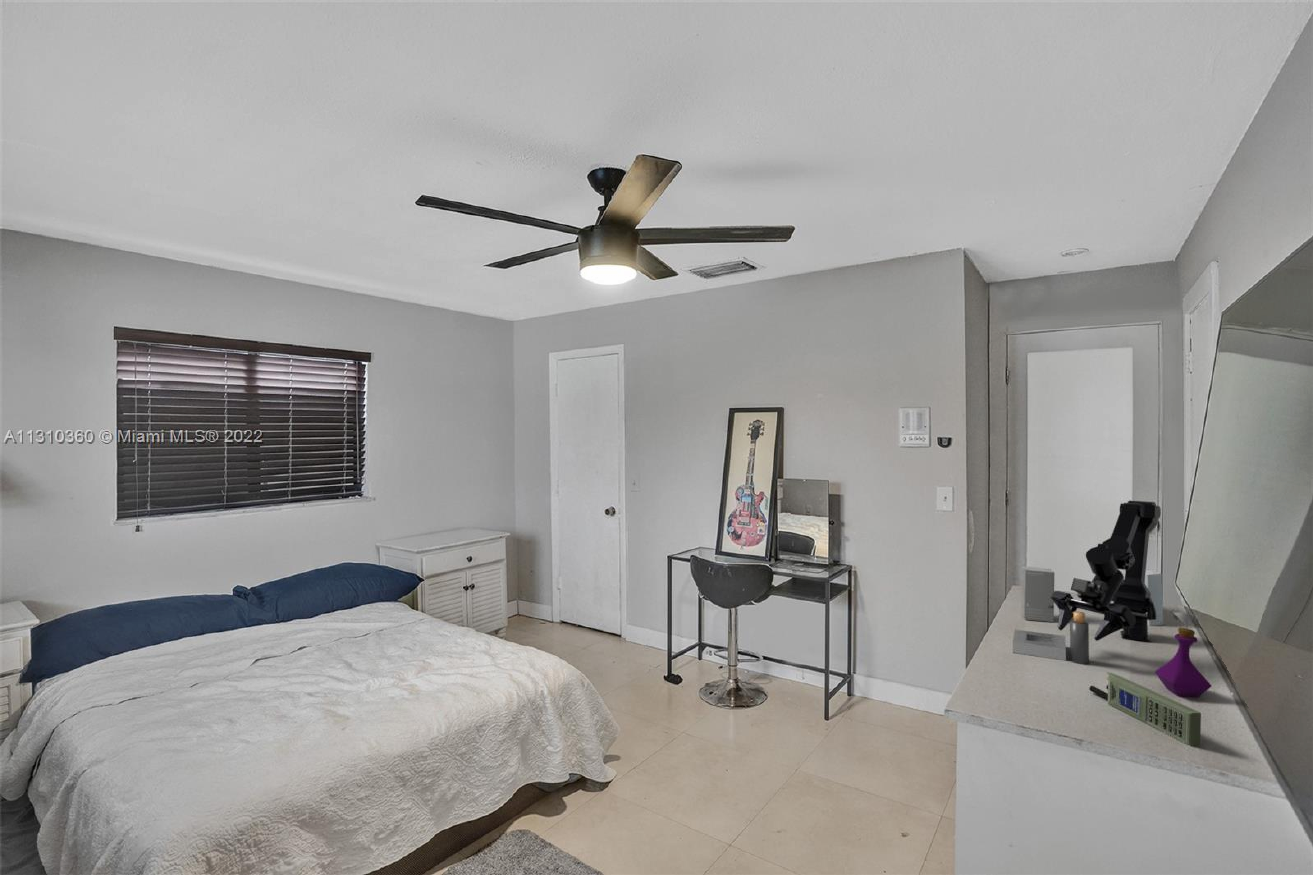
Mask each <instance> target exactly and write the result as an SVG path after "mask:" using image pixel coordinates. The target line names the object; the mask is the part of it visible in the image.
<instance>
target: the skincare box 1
mask: <svg viewBox="0 0 1313 875" xmlns="http://www.w3.org/2000/svg"><path fill="white" fill-rule="evenodd" d="M1021 570H1022V571H1021V576H1022V577H1021V615H1022V617H1023V618H1024V620H1025V621H1036V622H1049V623H1054V620H1055V603H1054V601H1053V600H1052V599H1051V596H1052V594H1053V592H1054V591H1055V571H1053V570H1052V569H1051V568H1044V567H1043V568H1042V567H1036V566H1035V567H1032V566H1021Z"/></svg>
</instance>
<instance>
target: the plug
mask: <svg viewBox="0 0 1313 875" xmlns="http://www.w3.org/2000/svg"><path fill="white" fill-rule="evenodd" d="M1085 614H1086V613H1085V612H1082V611H1076V612H1073V615H1074V616H1073V619H1071V620H1070V621H1069V641H1070V642H1069V650H1070V655H1069V656H1070V661H1071V663H1074V664H1078V665H1089V664H1090V643H1089V642H1090V637H1089V636H1090V633H1089V629H1090V628H1089V622H1087V621H1086V617H1085Z"/></svg>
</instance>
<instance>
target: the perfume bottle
mask: <svg viewBox="0 0 1313 875" xmlns="http://www.w3.org/2000/svg"><path fill="white" fill-rule="evenodd" d="M1172 617H1173V619H1174V620H1176V621H1177V620H1178V619H1179V620H1180V621H1181V622H1182V623H1183V624H1184V625H1185V626H1184V627H1185V628H1184V627H1178V628H1177V631H1178V633H1177V634H1175V635H1174V639H1176V640H1177V642H1178V643H1179V645H1178V649H1177V651H1176V653H1175V655H1174V656H1173V657H1172V659H1170V660H1169V661H1168V662H1166V663H1165V664H1163V665H1162V666H1160V667H1159V668H1157V669H1156V670H1154V673H1155V676H1157V678H1158V679H1159V680H1160V682H1161V683H1162V684H1163V686H1164V687H1165V689H1167V690H1168V691H1169V692H1171V693H1172V694H1174V695H1175V696H1177V697H1189V698H1199V697H1201V695H1203V694H1204V693H1205V692H1207V691H1208V690H1210V689H1211V688H1212V684H1211V683H1210V681H1208V680H1207V679H1206V678H1205V677H1204V675H1203V674H1202V673H1201V672H1200V671H1199V670H1198V668H1197V667H1196V666H1195V665H1194V664H1193V663H1192V660H1191V658H1190V650H1191V646H1192V645H1193V644H1194V643H1197V642H1198V641H1199V640H1198V637H1196V636H1195V634H1196V631H1195V630H1193V629H1190V628H1188V626H1187V625H1188V623H1189V621H1190V619H1191V618H1190V614H1188V613H1187V612H1172Z"/></svg>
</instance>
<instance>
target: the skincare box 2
mask: <svg viewBox="0 0 1313 875" xmlns="http://www.w3.org/2000/svg"><path fill="white" fill-rule="evenodd" d="M1118 570H1120V571H1121V572H1122V574H1123V576H1124V579H1125V572H1126V570H1122V569H1118ZM1094 577H1095V574H1094V573H1093V578H1094ZM1162 581H1163V575H1162V573H1160V572H1156V571H1153V570H1150V569H1149V570H1148V569H1146V573H1145V585H1146V586H1147V588H1148V590H1149V592H1150V593H1151V599H1152V601H1153V604H1154V606H1155V609H1156V620H1148V627H1150V626H1154V627H1155V626H1163V625H1164V611H1163V610H1164V609H1163V608H1164V606H1163V605H1164V603H1163V602H1164V601H1163V599H1164V598H1163V597H1164V596H1163V582H1162ZM1111 603H1114V602H1113V601H1111ZM1111 603H1110V604H1111ZM1146 614H1147V613H1146Z"/></svg>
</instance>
